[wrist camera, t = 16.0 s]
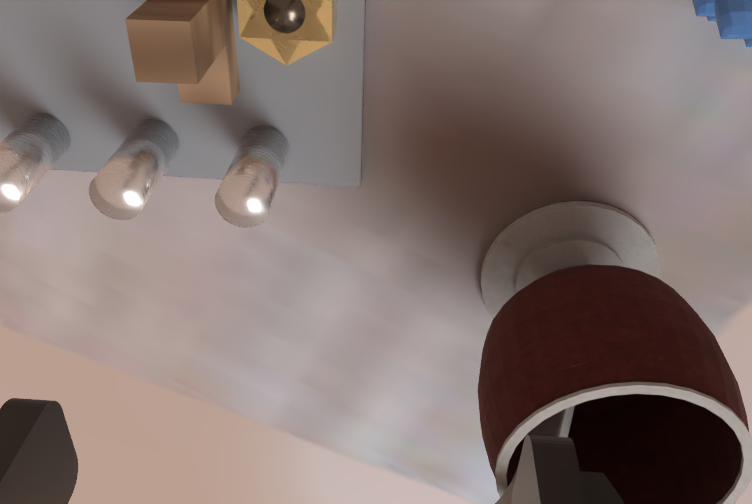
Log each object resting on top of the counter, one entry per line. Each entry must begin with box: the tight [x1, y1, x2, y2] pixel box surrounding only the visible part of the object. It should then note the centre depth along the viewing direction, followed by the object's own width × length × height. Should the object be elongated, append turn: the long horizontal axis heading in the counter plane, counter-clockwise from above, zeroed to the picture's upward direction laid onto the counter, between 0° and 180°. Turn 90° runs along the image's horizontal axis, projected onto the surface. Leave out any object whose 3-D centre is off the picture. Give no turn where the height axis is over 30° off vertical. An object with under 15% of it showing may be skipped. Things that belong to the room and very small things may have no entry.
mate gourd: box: [478, 201, 752, 504], centre depth 42 cm, size 16×14×20 cm
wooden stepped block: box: [125, 0, 240, 105], centre depth 37 cm, size 10×3×8 cm, turn 179°
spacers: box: [0, 113, 290, 227], centre depth 37 cm, size 22×17×7 cm
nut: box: [237, 0, 337, 66], centre depth 39 cm, size 6×5×2 cm
